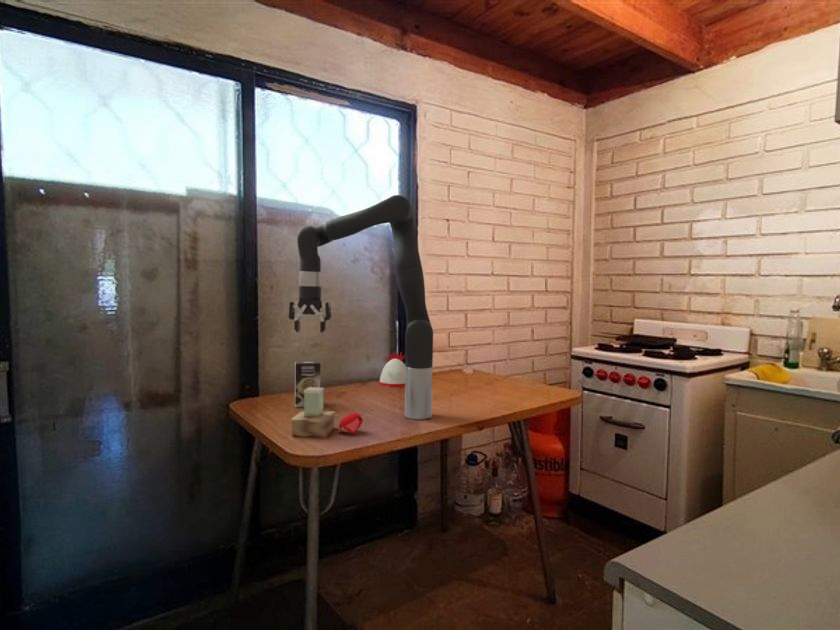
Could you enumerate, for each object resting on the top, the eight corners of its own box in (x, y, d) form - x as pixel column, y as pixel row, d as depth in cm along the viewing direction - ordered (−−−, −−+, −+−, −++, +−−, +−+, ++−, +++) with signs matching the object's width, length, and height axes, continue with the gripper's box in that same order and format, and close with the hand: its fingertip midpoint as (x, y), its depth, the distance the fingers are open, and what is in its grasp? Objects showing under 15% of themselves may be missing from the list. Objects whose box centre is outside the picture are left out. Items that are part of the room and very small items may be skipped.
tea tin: (323, 413, 152) (323, 387, 152) (319, 417, 148) (319, 390, 147) (308, 413, 153) (308, 387, 152) (303, 417, 148) (303, 390, 147)
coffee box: (294, 407, 179) (295, 363, 178) (294, 403, 185) (294, 360, 184) (320, 406, 181) (320, 362, 180) (319, 402, 187) (319, 360, 186)
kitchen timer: (410, 387, 217) (410, 354, 216) (378, 387, 217) (379, 353, 216) (410, 381, 231) (410, 349, 230) (380, 381, 231) (381, 349, 230)
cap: (365, 418, 154) (349, 408, 154) (366, 417, 148) (349, 406, 148) (351, 441, 151) (334, 430, 151) (351, 440, 146) (334, 429, 146)
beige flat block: (335, 427, 155) (335, 411, 155) (326, 437, 145) (326, 420, 144) (302, 425, 156) (302, 410, 156) (290, 436, 145) (290, 419, 145)
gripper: (333, 285, 173) (332, 331, 174) (293, 284, 174) (293, 330, 175) (327, 285, 166) (327, 333, 167) (286, 284, 167) (286, 332, 168)
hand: (309, 332), depth 171 cm, fingers open, 8 cm apart
